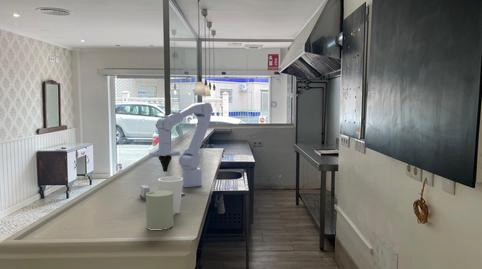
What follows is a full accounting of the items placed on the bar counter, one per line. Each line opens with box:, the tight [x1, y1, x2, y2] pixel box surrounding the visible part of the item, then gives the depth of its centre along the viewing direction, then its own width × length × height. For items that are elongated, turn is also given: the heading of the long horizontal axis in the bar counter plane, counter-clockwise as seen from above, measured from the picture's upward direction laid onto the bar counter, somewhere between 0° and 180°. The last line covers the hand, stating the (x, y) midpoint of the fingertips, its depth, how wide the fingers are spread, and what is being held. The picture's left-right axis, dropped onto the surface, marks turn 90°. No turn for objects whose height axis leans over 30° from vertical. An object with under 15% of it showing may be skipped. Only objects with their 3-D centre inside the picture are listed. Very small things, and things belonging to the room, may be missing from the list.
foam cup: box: [157, 176, 183, 215], centre depth 136 cm, size 10×9×13 cm
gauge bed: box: [139, 184, 186, 202], centre depth 162 cm, size 18×10×5 cm, turn 118°
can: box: [145, 189, 175, 229], centre depth 120 cm, size 9×9×12 cm
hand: (165, 171), depth 171 cm, fingers closed
